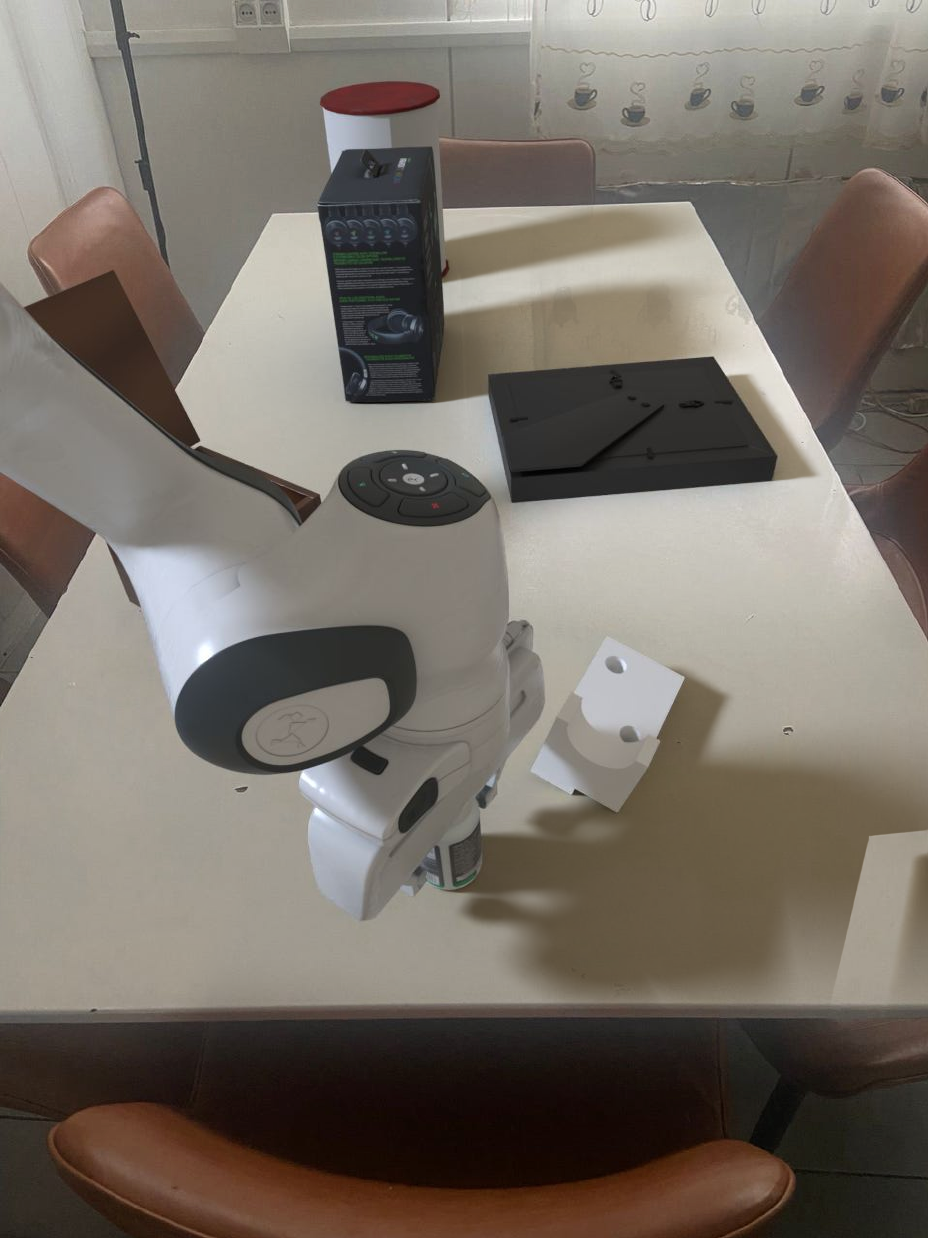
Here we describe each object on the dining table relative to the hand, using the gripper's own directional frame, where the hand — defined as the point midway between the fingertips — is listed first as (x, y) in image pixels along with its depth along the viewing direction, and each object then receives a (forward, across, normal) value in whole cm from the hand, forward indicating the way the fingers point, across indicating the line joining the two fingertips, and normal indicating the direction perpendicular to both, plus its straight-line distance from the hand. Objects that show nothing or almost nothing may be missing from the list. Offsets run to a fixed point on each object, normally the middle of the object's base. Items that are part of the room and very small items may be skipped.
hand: (447, 840), depth 61 cm
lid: (-16, -12, -45) cm, 49 cm away
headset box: (+3, -58, -51) cm, 78 cm away
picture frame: (+3, -57, -17) cm, 60 cm away
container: (+3, -84, -71) cm, 110 cm away
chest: (+3, -12, -35) cm, 37 cm away
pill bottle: (+3, 0, 0) cm, 3 cm away
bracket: (+3, -16, +4) cm, 17 cm away
